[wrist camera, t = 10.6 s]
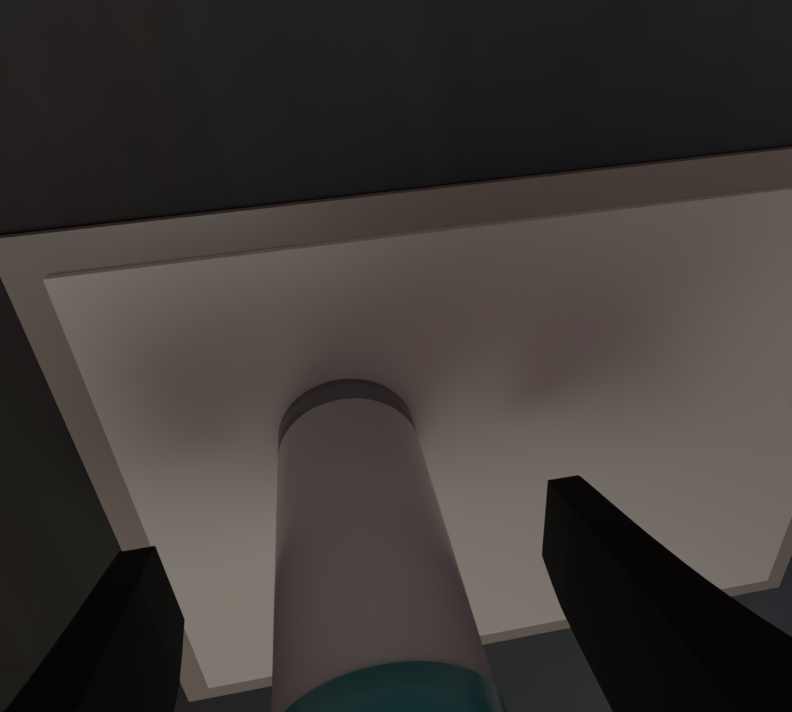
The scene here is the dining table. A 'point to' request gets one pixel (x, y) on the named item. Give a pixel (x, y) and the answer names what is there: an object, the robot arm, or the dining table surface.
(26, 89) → the dining table surface
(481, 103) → the dining table surface
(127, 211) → the dining table surface
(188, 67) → the dining table surface
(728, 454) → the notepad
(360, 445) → the marker
